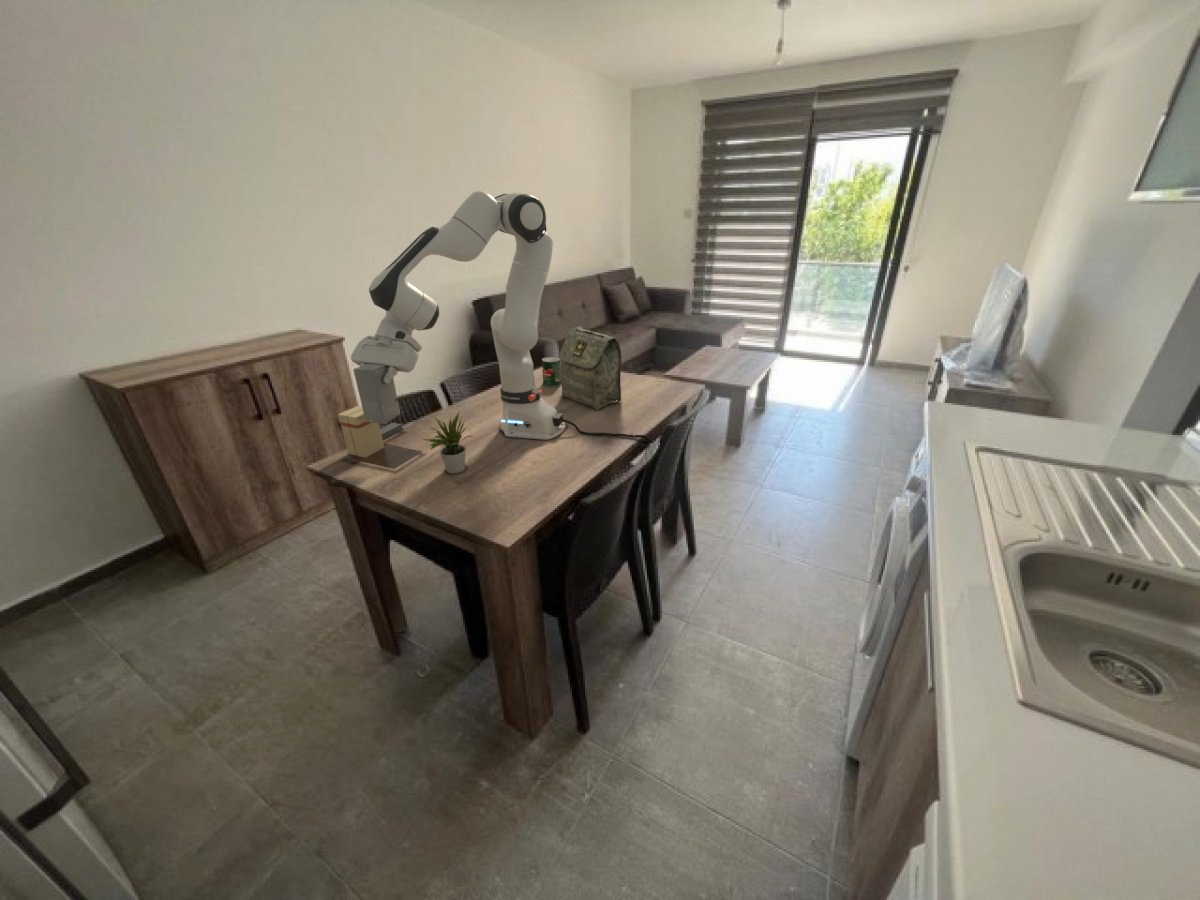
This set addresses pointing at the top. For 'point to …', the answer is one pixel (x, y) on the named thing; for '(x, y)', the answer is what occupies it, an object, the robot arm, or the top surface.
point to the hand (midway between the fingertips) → (373, 381)
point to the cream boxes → (360, 433)
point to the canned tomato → (551, 371)
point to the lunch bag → (591, 368)
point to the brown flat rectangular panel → (388, 456)
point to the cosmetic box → (376, 393)
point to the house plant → (450, 445)
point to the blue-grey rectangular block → (390, 430)
